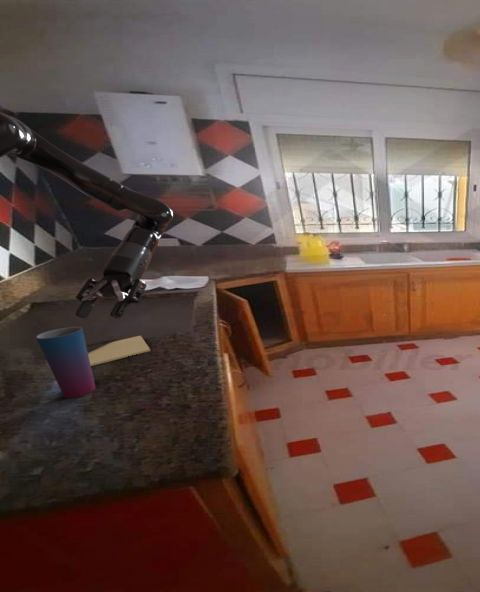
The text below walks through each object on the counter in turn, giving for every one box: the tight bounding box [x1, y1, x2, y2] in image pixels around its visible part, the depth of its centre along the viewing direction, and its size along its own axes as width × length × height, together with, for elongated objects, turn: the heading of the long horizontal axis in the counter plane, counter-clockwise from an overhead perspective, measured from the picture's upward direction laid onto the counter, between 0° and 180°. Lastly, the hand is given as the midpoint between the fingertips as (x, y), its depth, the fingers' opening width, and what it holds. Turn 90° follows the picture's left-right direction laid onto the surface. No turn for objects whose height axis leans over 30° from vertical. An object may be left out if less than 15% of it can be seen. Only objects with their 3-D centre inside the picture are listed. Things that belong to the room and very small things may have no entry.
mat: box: [88, 335, 151, 367], centre depth 93 cm, size 16×16×1 cm
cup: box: [35, 326, 96, 399], centre depth 71 cm, size 7×7×15 cm
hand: (97, 317), depth 77 cm, fingers open, 8 cm apart
